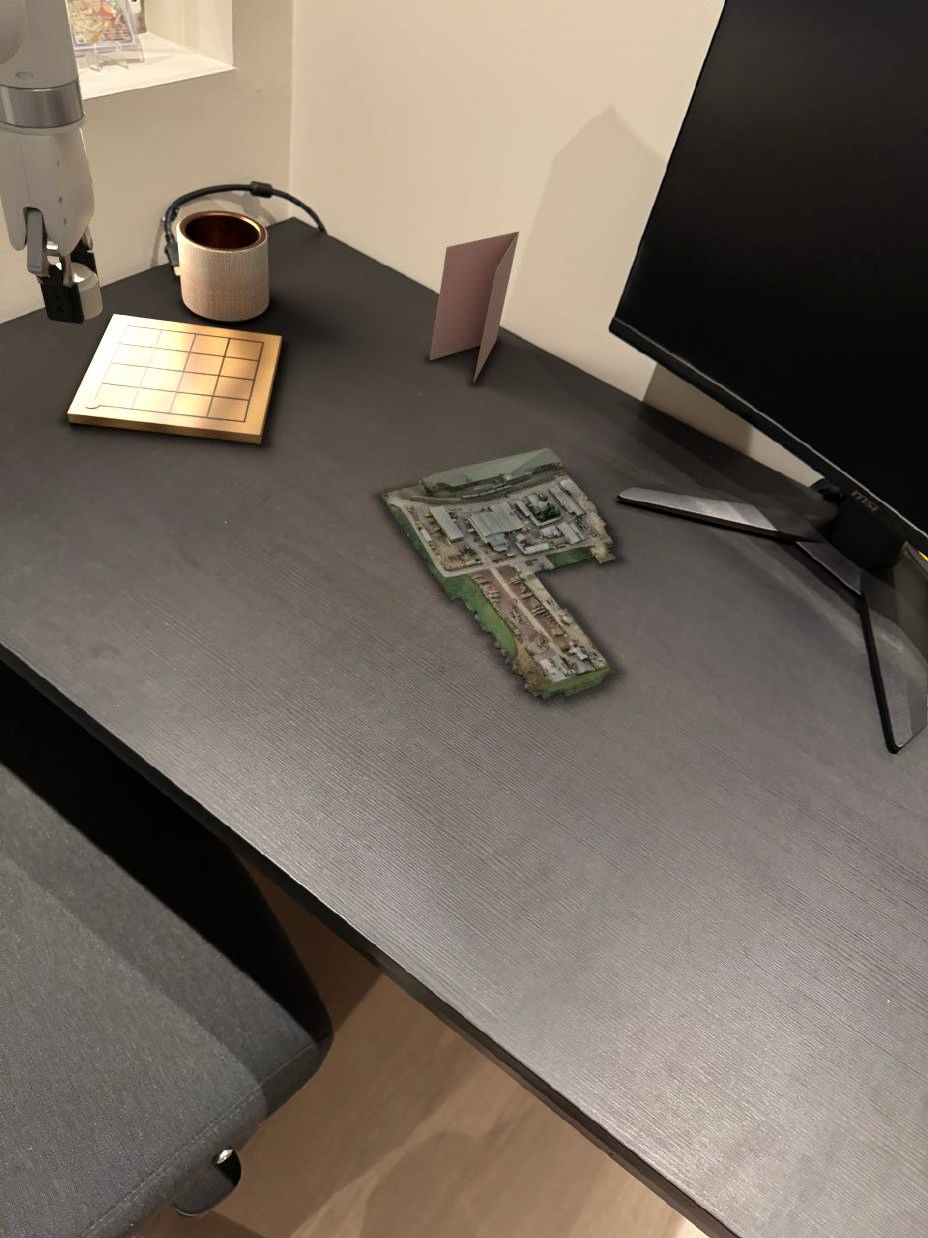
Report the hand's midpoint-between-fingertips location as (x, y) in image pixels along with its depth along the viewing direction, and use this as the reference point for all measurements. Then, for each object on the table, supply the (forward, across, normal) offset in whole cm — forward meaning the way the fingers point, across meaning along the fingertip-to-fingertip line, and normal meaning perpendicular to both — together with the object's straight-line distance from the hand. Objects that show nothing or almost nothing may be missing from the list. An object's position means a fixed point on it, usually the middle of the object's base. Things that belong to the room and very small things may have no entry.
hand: (74, 303), depth 81 cm
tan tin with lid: (0, 0, 0) cm, 0 cm away
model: (+13, +16, +48) cm, 52 cm away
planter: (+14, -26, +9) cm, 31 cm away
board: (+13, -8, +8) cm, 17 cm away
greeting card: (+14, -21, +42) cm, 49 cm away
